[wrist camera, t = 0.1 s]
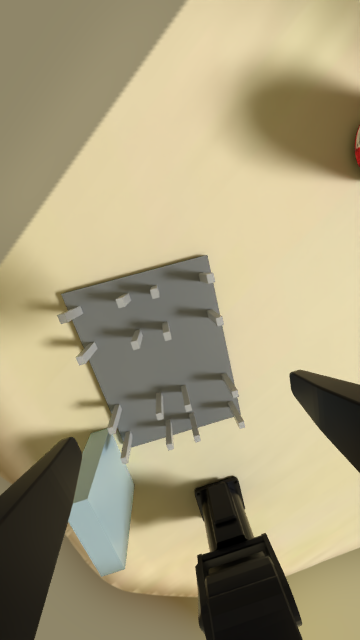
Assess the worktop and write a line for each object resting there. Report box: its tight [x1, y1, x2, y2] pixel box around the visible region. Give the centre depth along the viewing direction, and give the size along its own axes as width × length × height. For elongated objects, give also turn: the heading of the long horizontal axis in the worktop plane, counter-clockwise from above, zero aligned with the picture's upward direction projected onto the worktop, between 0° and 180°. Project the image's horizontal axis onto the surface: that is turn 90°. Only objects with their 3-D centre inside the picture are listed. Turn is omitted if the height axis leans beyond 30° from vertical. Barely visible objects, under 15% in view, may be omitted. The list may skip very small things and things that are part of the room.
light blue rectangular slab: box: [68, 429, 134, 577], centre depth 22 cm, size 10×2×8 cm, turn 15°
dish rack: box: [57, 255, 245, 464], centre depth 21 cm, size 20×15×4 cm
